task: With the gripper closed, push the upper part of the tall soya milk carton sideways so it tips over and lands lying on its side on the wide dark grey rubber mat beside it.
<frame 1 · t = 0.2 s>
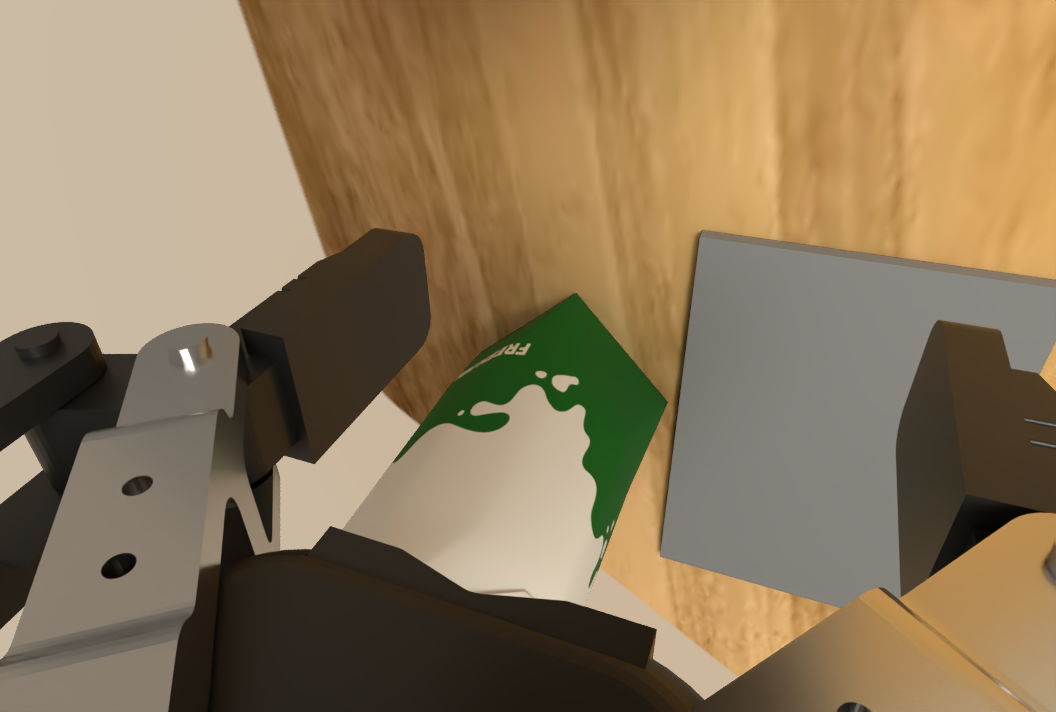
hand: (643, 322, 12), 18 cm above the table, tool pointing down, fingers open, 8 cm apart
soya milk: (573, 374, 37), on the table
mat: (820, 447, 33), on the table
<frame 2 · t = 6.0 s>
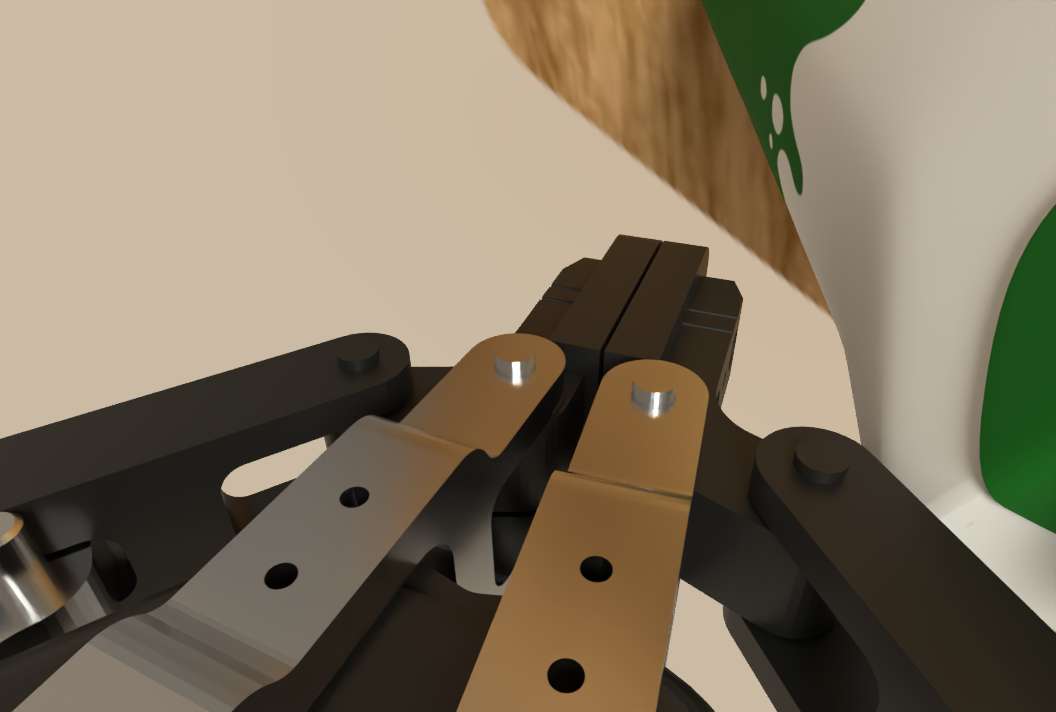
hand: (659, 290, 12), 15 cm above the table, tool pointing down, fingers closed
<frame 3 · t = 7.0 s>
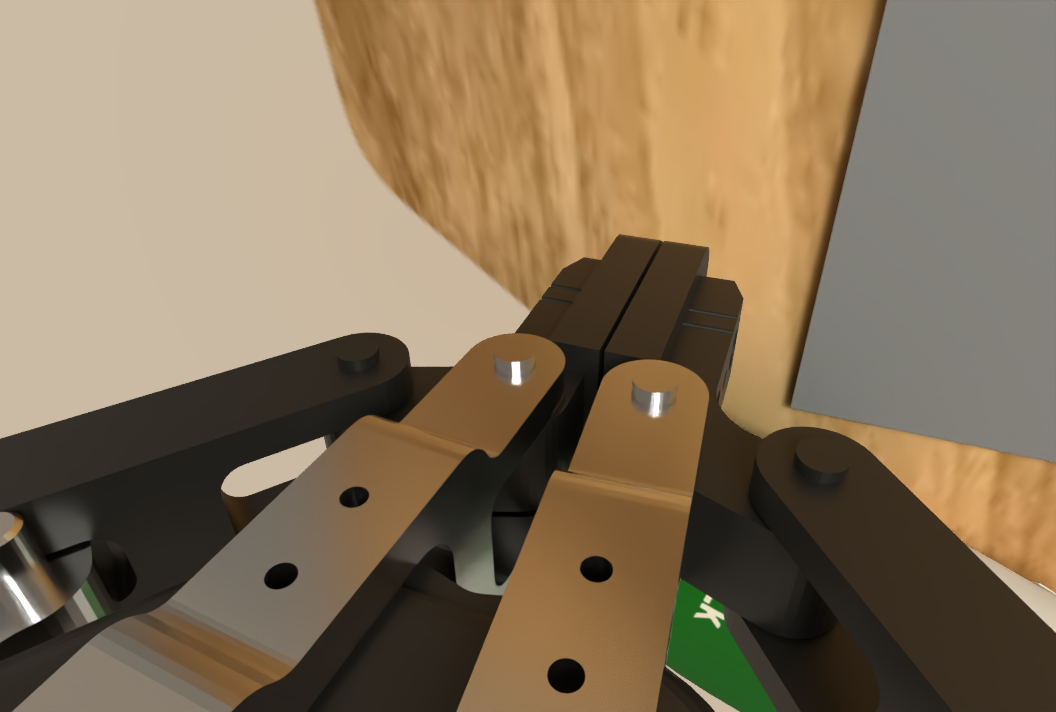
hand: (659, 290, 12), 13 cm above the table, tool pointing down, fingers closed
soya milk: (598, 485, 27), point 5 cm above the table
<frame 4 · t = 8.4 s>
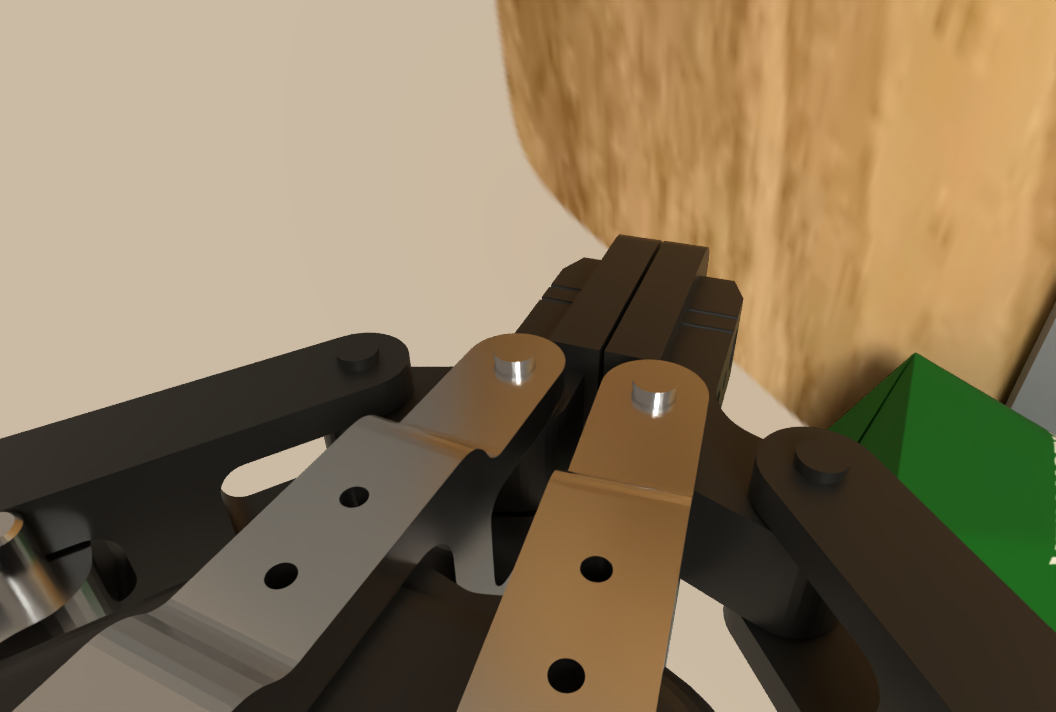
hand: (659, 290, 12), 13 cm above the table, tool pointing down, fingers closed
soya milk: (829, 479, 24), point 5 cm above the table, touching mat
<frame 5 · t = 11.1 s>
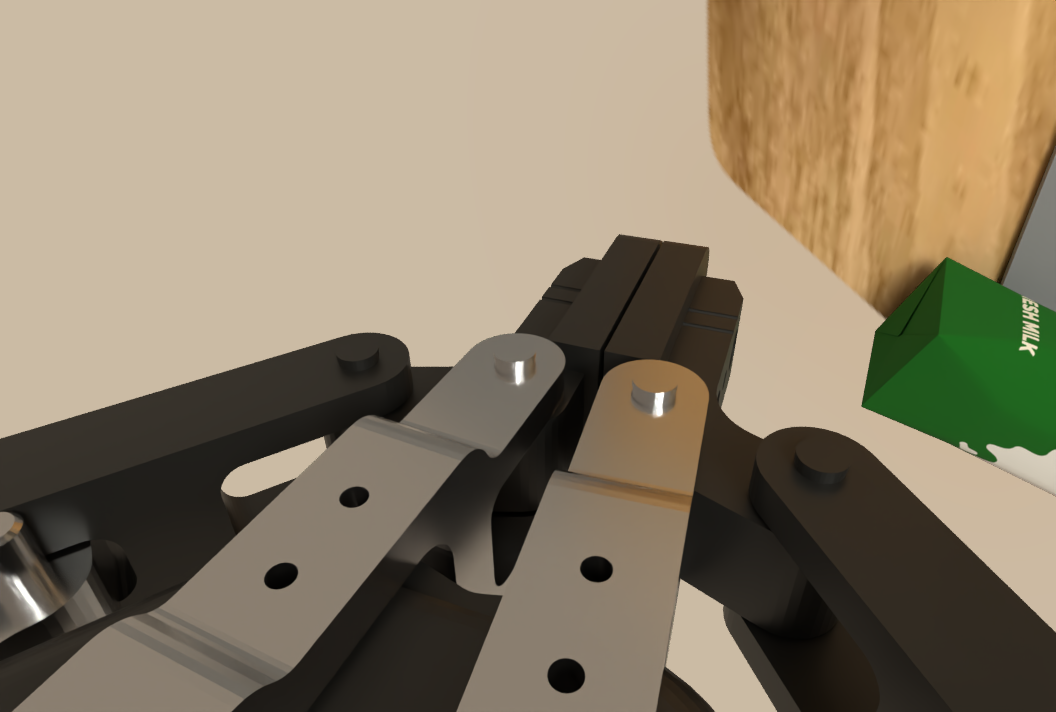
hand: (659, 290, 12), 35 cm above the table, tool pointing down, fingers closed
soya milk: (899, 329, 43), point 5 cm above the table, touching mat
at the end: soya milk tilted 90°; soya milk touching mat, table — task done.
